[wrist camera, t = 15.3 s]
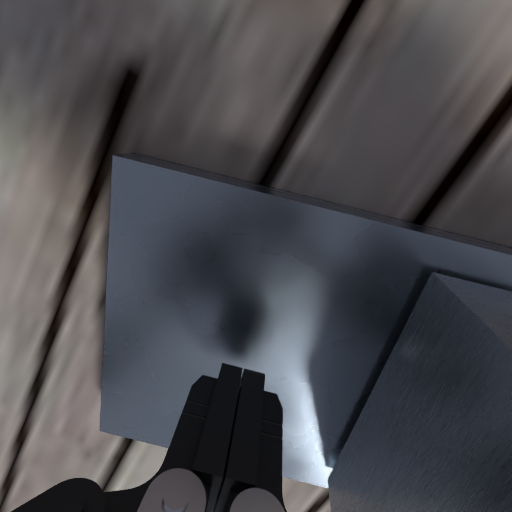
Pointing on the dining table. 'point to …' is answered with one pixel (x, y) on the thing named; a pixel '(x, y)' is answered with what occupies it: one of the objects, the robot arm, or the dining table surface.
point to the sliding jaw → (437, 411)
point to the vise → (260, 300)
